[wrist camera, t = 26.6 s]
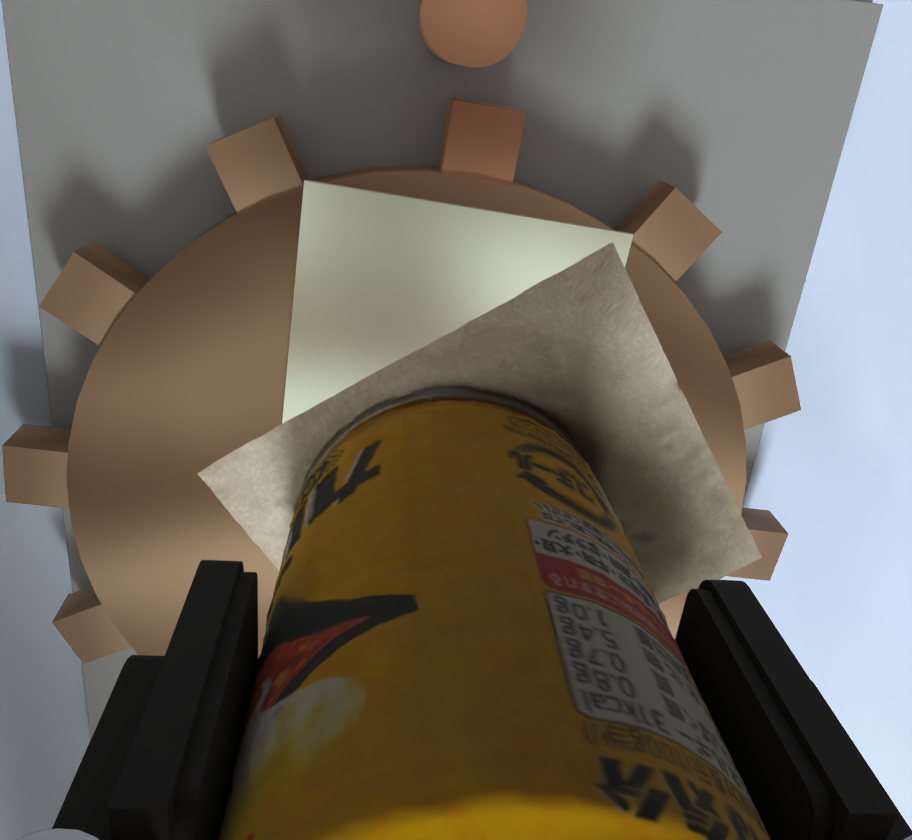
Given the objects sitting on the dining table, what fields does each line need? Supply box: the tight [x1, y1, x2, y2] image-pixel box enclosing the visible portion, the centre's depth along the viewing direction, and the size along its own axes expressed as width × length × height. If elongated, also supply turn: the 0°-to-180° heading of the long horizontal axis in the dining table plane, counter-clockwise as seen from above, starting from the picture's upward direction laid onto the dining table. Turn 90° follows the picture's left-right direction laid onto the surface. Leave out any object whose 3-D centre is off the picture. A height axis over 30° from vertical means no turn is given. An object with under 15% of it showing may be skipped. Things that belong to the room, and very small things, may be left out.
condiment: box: [197, 242, 771, 840], centre depth 10 cm, size 7×8×12 cm
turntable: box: [2, 97, 801, 664], centre depth 22 cm, size 23×23×7 cm
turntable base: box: [1, 0, 883, 739], centre depth 23 cm, size 26×22×6 cm
